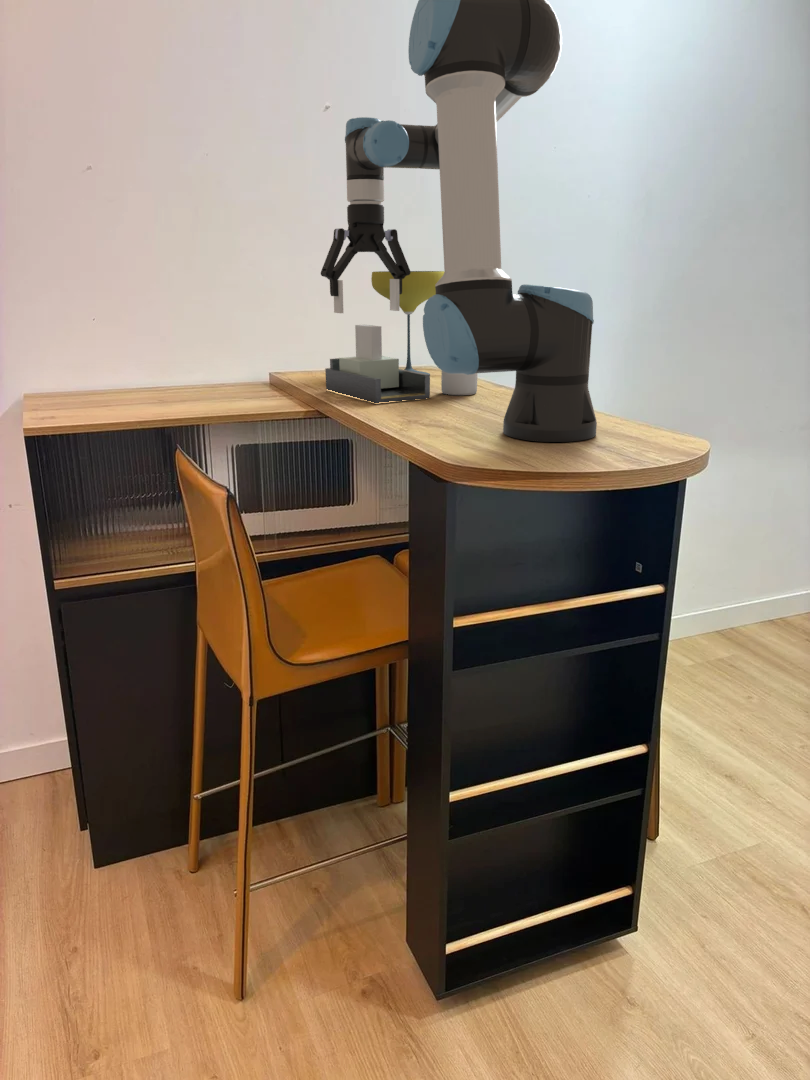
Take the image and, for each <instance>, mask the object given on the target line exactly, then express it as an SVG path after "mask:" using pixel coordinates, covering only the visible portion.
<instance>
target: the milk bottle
mask: <svg viewBox="0 0 810 1080" xmlns="http://www.w3.org/2000/svg"><path fill="white" fill-rule="evenodd" d="M440 376H441V377H440V378H441V383H440V385H441V387H440V388H441V393H442V394H443V395H447V394H448V395H449V396H469V395H475V394H477V392H478V373H475V374H469V375H467V374H450V373H446V372H444V371H442V370H441V375H440ZM448 395H447V396H448Z"/></svg>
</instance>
